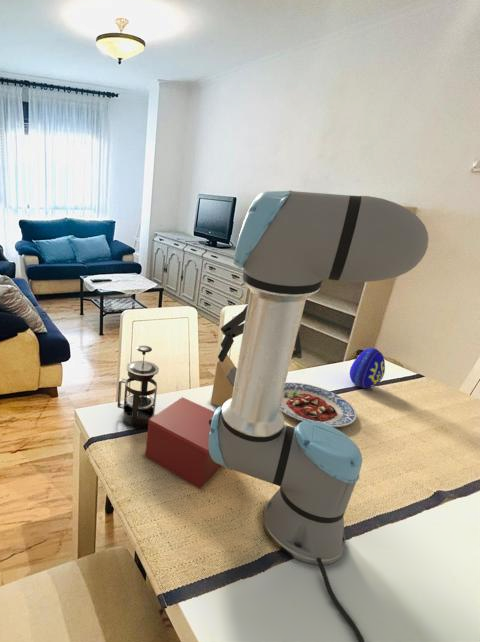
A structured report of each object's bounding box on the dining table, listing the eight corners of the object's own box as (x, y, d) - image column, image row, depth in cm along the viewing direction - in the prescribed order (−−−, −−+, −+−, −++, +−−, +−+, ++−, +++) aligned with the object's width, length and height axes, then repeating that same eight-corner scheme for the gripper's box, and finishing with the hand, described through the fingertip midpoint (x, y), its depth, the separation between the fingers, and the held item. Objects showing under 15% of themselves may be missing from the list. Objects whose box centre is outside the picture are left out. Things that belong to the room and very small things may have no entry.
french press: (159, 415, 115) (167, 344, 106) (151, 432, 107) (159, 358, 98) (122, 406, 118) (127, 337, 110) (112, 422, 110) (116, 349, 101)
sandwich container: (258, 420, 115) (268, 376, 109) (210, 403, 122) (217, 361, 117) (265, 408, 122) (275, 365, 116) (218, 392, 129) (225, 352, 124)
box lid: (239, 426, 94) (243, 406, 92) (209, 455, 84) (213, 433, 81) (181, 400, 104) (184, 381, 102) (148, 422, 94) (150, 402, 91)
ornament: (362, 394, 134) (376, 355, 128) (339, 382, 141) (351, 345, 136) (383, 389, 138) (397, 351, 132) (360, 378, 146) (372, 341, 140)
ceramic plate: (374, 427, 115) (377, 419, 114) (301, 436, 109) (303, 427, 108) (315, 385, 138) (317, 378, 137) (251, 390, 132) (253, 383, 131)
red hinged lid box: (230, 457, 99) (236, 425, 95) (200, 489, 88) (206, 453, 84) (177, 430, 108) (181, 400, 104) (145, 456, 97) (148, 422, 94)
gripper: (334, 318, 93) (299, 393, 88) (238, 295, 108) (204, 358, 103) (334, 301, 88) (297, 381, 83) (233, 279, 102) (196, 346, 97)
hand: (245, 368), depth 93 cm, fingers open, 13 cm apart
